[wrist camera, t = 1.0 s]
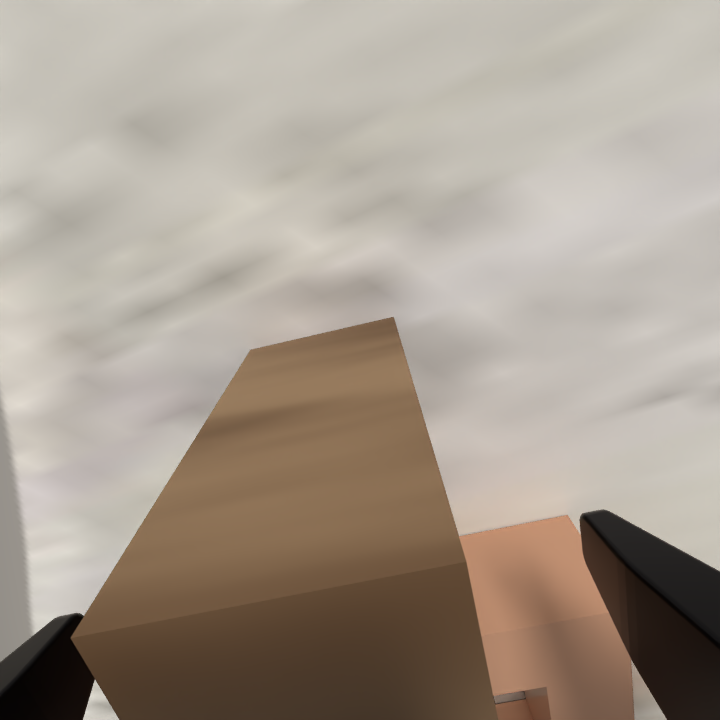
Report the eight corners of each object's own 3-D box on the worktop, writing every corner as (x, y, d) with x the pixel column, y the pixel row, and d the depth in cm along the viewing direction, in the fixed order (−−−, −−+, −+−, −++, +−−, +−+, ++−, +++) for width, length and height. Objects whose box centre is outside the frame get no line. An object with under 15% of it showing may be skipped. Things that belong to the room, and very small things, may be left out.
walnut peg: (421, 444, 16) (517, 813, 7) (291, 471, 16) (205, 862, 7) (393, 316, 14) (466, 562, 5) (250, 350, 15) (70, 638, 5)
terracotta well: (589, 728, 21) (641, 847, 17) (333, 770, 22) (328, 893, 18) (567, 515, 17) (628, 608, 13) (255, 576, 18) (229, 681, 14)
